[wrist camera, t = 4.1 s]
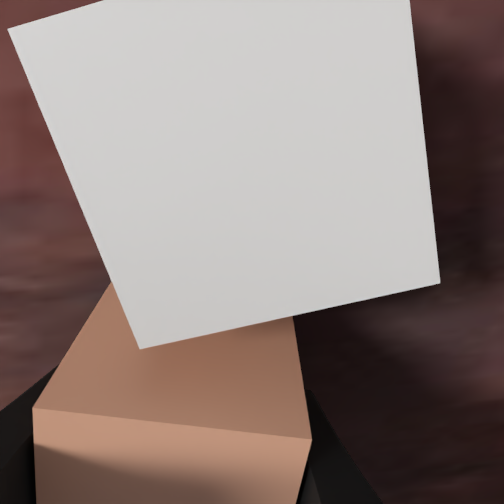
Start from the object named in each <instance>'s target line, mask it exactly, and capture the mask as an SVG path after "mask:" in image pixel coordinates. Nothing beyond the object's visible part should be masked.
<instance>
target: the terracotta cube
mask: <svg viewBox="0 0 504 504" xmlns="http://www.w3.org/2000/svg"><path fill="white" fill-rule="evenodd" d="M32 410H33V434H34V458H35V482H36V504H296V500H297V496H298V492H299V488H300V484H301V481H302V477H303V473H304V469H305V465H306V461H307V457H308V453H309V450H310V446H311V442H312V436H311V430H310V424H309V417H308V411H307V405H306V398H305V392H304V386H303V380H302V373H301V367H300V361H299V354H298V348H297V342H296V336H295V329H294V323H293V317H292V316H289V317H285V318H280V319H276V320H271V321H266V322H262V323H257V324H253V325H248V326H244V327H239V328H235V329H230V330H226V331H221V332H216V333H212V334H207V335H203V336H198V337H194V338H189V339H185V340H180V341H176V342H171V343H166V344H162V345H157V346H153V347H148V348H144V349H139V346H138V344H137V342H136V339H135V337H134V334H133V332H132V329H131V327H130V325H129V322H128V320H127V317H126V315H125V313H124V310H123V308H122V305H121V303H120V300H119V298H118V296H117V293H116V291H115V288H114V286H113V283H112V282H111V283H110V285H109V286H108V288H107V289H106V291H105V293H104V294H103V296H102V297H101V299H100V301H99V302H98V304H97V305H96V307H95V309H94V310H93V312H92V313H91V315H90V317H89V318H88V320H87V321H86V323H85V325H84V326H83V328H82V329H81V331H80V333H79V334H78V336H77V337H76V339H75V341H74V342H73V344H72V345H71V347H70V349H69V350H68V352H67V353H66V355H65V357H64V358H63V360H62V361H61V363H60V365H59V366H58V368H57V369H56V371H55V373H54V374H53V376H52V377H51V379H50V381H49V382H48V384H47V385H46V387H45V389H44V390H43V392H42V393H41V395H40V397H39V398H38V400H37V401H36V403H35V405H34V406H33V408H32Z"/></svg>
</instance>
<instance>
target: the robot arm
mask: <svg viewBox="0 0 504 504" xmlns="http://www.w3.org/2000/svg"><path fill="white" fill-rule="evenodd" d="M59 365H60V364H59ZM59 365H58V366H59ZM58 366H56V367H55V368H54V369H53V370H51V371H50V372H49V373H48V374H46V375H45V376H44V377H43V378H42V379H40V380H39V381H38V382H37V383H35V384H34V385H33V386H32V387H30V388H29V389H28V390H27V391H25V392H24V393H23V394H22V395H20V396H19V397H18V398H17V399H15V400H14V401H13V402H11V403H10V404H9V405H8V406H6V407H5V408H4V409H2V410H1V411H0V504H36V482H35V458H34V434H33V410H32V408H33V406H34V405H35V403H36V401H37V400H38V398H39V397H40V395H41V393H42V392H43V390H44V389H45V387H46V385H47V384H48V382H49V381H50V379H51V377H52V376H53V374H54V373H55V371H56V369H57V368H58ZM304 392H305V398H306V405H307V411H308V417H309V424H310V430H311V436H312V442H311V446H310V450H309V453H308V457H307V461H306V465H305V469H304V473H303V477H302V481H301V484H300V488H299V492H298V496H297V500H296V504H383V503H382V501H381V500H380V499H379V497H378V496H377V494H376V493H375V492H374V490H373V489H372V488H371V486H370V485H369V483H368V482H367V481H366V479H365V478H364V476H363V475H362V473H361V472H360V470H359V469H358V467H357V466H356V464H355V463H354V461H353V460H352V458H351V457H350V455H349V454H348V452H347V451H346V449H345V447H344V446H343V444H342V443H341V441H340V439H339V438H338V436H337V435H336V433H335V431H334V429H333V428H332V426H331V424H330V423H329V421H328V419H327V417H326V416H325V414H324V412H323V410H322V409H321V407H320V405H319V403H318V401H317V399H316V398H315V396H314V394H313V393H312V392H311V390H304Z"/></svg>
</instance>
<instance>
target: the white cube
mask: <svg viewBox="0 0 504 504" xmlns="http://www.w3.org/2000/svg"><path fill="white" fill-rule="evenodd" d="M8 31H9V34H10V36H11V39H12V41H13V44H14V46H15V48H16V51H17V53H18V56H19V58H20V61H21V63H22V65H23V68H24V70H25V73H26V75H27V78H28V80H29V82H30V85H31V87H32V90H33V92H34V94H35V97H36V99H37V102H38V104H39V107H40V109H41V111H42V114H43V116H44V119H45V121H46V124H47V126H48V128H49V131H50V133H51V136H52V138H53V140H54V143H55V145H56V148H57V150H58V153H59V155H60V157H61V160H62V162H63V165H64V167H65V170H66V172H67V174H68V177H69V179H70V182H71V184H72V187H73V189H74V191H75V194H76V196H77V199H78V201H79V203H80V206H81V208H82V211H83V213H84V216H85V218H86V220H87V223H88V225H89V228H90V230H91V233H92V235H93V237H94V240H95V242H96V245H97V247H98V250H99V252H100V254H101V257H102V259H103V262H104V264H105V266H106V269H107V271H108V274H109V276H110V279H111V281H112V283H113V286H114V288H115V291H116V293H117V296H118V298H119V300H120V303H121V305H122V308H123V310H124V313H125V315H126V317H127V320H128V322H129V325H130V327H131V329H132V332H133V334H134V337H135V339H136V342H137V344H138V346H139V349H144V348H148V347H153V346H157V345H162V344H166V343H171V342H176V341H180V340H185V339H189V338H194V337H198V336H203V335H207V334H212V333H216V332H221V331H226V330H230V329H235V328H239V327H244V326H248V325H253V324H257V323H262V322H266V321H271V320H276V319H280V318H285V317H289V316H294V315H298V314H303V313H307V312H312V311H317V310H321V309H326V308H330V307H335V306H339V305H344V304H348V303H353V302H357V301H362V300H367V299H371V298H376V297H380V296H385V295H389V294H394V293H398V292H403V291H407V290H412V289H417V288H421V287H426V286H430V285H435V284H439V283H440V275H439V266H438V256H437V247H436V238H435V229H434V220H433V211H432V202H431V193H430V183H429V174H428V165H427V156H426V147H425V138H424V129H423V120H422V110H421V101H420V92H419V83H418V74H417V65H416V56H415V47H414V38H413V28H412V19H411V10H410V1H409V0H104V1H100V2H97V3H93V4H90V5H87V6H83V7H80V8H77V9H73V10H70V11H66V12H63V13H60V14H56V15H53V16H50V17H46V18H43V19H39V20H36V21H33V22H29V23H26V24H23V25H19V26H16V27H13V28H9V29H8Z"/></svg>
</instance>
